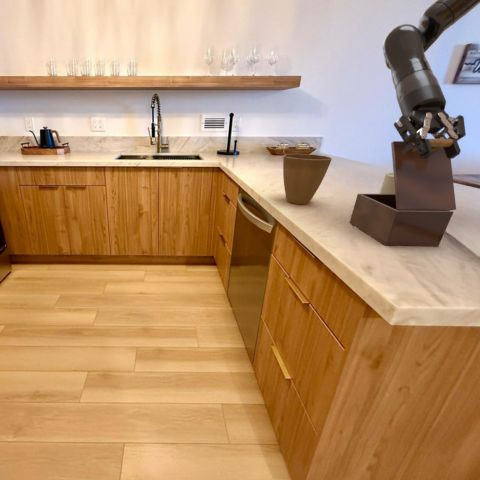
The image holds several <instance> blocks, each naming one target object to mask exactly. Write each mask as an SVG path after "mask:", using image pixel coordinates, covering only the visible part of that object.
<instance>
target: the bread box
mask: <svg viewBox="0 0 480 480" xmlns="http://www.w3.org/2000/svg"><path fill="white" fill-rule="evenodd" d="M453 214H454V211H453V210H397V209H396V196H395V194H379V193H357V195H356V198H355V202H354V205H353V209H352V213H351V216H350V219H349V224H350V223H351V224H350V225H352V226H354V227H355V226H356V227H355V228H357V229H358V228H359V229H358V230H360V231H361V230H362V232H363V233H364V234H366V233H367V234H366V235H367V236H369V235H370V236H369V237H371V238H372V237H373V238H372V239H374V240H375V241H377V242H378V243H380V244H382V245H383V246H385V247H389V246H390V247H399V246H400V247H439V246H440V244H441V241H442V240H443V237H444V235H445V233H446V230H447V228H448V226H449V223H450V222H451V219H452V216H453Z"/></svg>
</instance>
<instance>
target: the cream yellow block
mask: <svg viewBox="0 0 480 480" xmlns="http://www.w3.org/2000/svg"><path fill="white" fill-rule="evenodd" d="M378 194H395V184H394V172H386V173H384V177H383V181H382V185H381V187H380V191H379V193H378Z"/></svg>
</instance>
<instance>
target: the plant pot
mask: <svg viewBox="0 0 480 480" xmlns="http://www.w3.org/2000/svg"><path fill="white" fill-rule="evenodd" d="M332 159H333V158H332V157H330V156H328V155H327V156H326V155H321V154H320V155H319V154H311V153H310V154H309V153H287V154H284V155H283V161H282V175H283V176H282V177H283V187H284V194H285V199H286V201H287V202H288V203H290V204H294V205H308V204H310V202H311V201H312V200H313V197H314V196H315V195H316V193H317V191H318V189H319V188H320V186H321V184H322V183H323V180H324V178H325V177H326V174H327V173H328V169H329V167H330V165H331V162H332Z"/></svg>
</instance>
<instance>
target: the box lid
mask: <svg viewBox="0 0 480 480" xmlns="http://www.w3.org/2000/svg"><path fill="white" fill-rule="evenodd" d="M427 139H428V140H429V142H430V145H431V148H432V151H433V153H432V154H431V155H430V156H429V157H427V158H421V156H420V155H419V154H418V151H417V148H416V146H415V145H413V143H411V142H409V143H405V142H404V141H403V140H400V141H399V140H397V141H395V140H394V141H391V142H390V146H391V157H392V170H393V172H392V173H394V184H395V196H396V209H397V210H450V211H457V204H456V195H455V186H454V184H455V183H454V177H453V176H454V175H453V167H452V159H448V158H447V155H446V153H445V150H444V148H443V147H450V146H451V145H452V144H453V140H452V139H435V138H427Z"/></svg>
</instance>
